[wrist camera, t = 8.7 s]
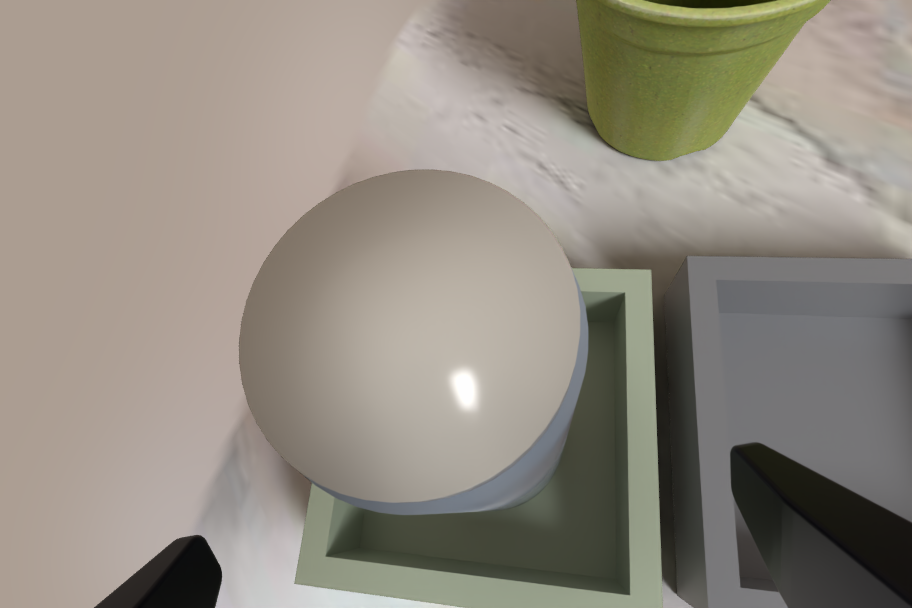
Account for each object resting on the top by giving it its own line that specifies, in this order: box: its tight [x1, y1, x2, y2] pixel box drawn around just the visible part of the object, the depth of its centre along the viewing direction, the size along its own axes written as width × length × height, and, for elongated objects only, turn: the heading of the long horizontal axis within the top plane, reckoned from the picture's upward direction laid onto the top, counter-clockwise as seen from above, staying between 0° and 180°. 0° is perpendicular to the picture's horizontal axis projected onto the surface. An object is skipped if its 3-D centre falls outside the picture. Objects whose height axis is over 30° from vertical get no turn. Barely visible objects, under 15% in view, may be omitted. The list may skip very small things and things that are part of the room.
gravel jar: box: [239, 170, 588, 515], centre depth 13 cm, size 5×5×12 cm
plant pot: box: [576, 0, 830, 161], centre depth 19 cm, size 9×9×9 cm
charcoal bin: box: [664, 256, 912, 608], centre depth 16 cm, size 10×10×4 cm
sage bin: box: [294, 268, 663, 608], centre depth 18 cm, size 10×10×4 cm
